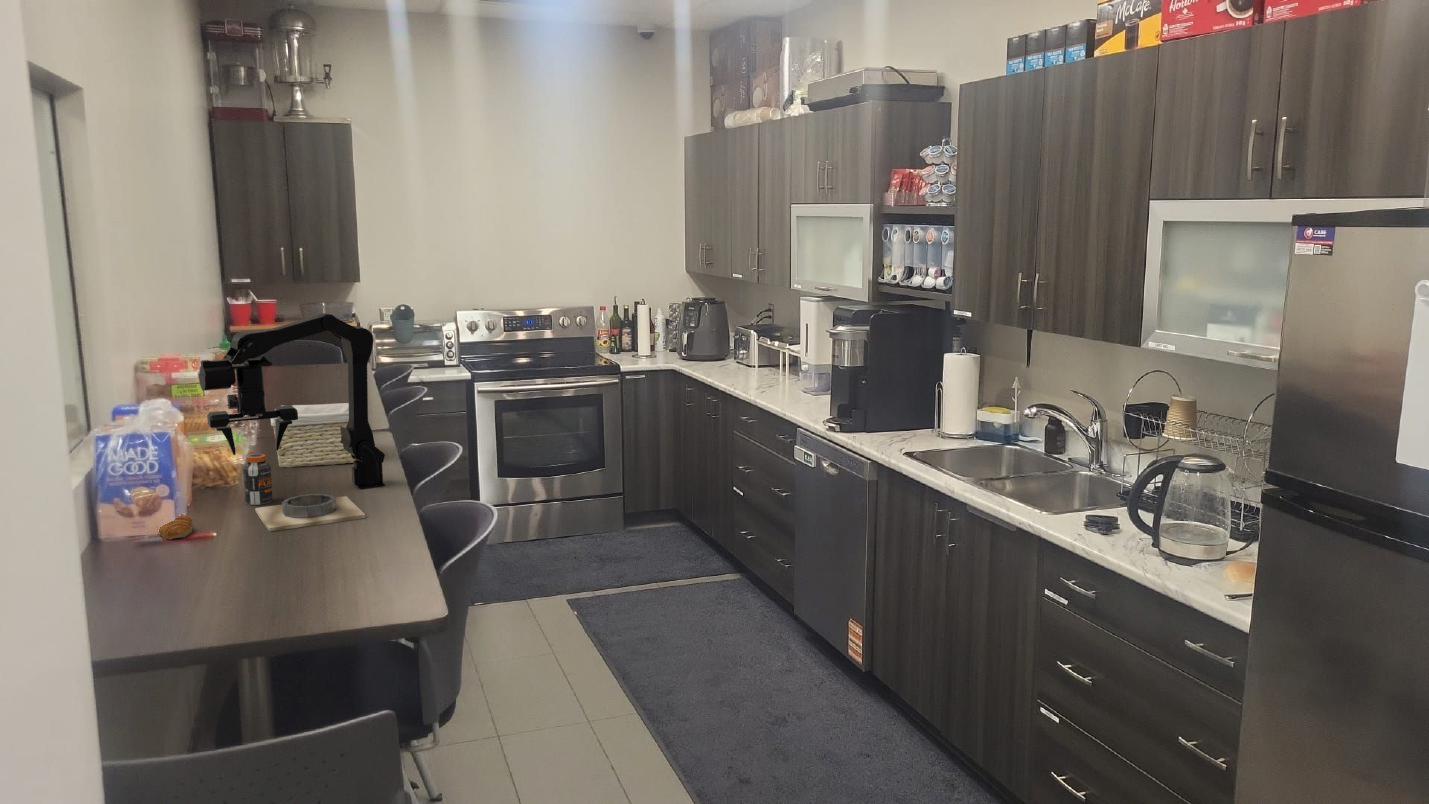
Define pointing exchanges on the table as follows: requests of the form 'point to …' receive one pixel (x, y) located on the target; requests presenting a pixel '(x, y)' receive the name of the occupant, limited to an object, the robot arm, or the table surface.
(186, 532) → the pastry
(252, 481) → the pill bottle
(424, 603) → the table surface
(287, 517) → the ring holder
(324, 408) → the storage basket
